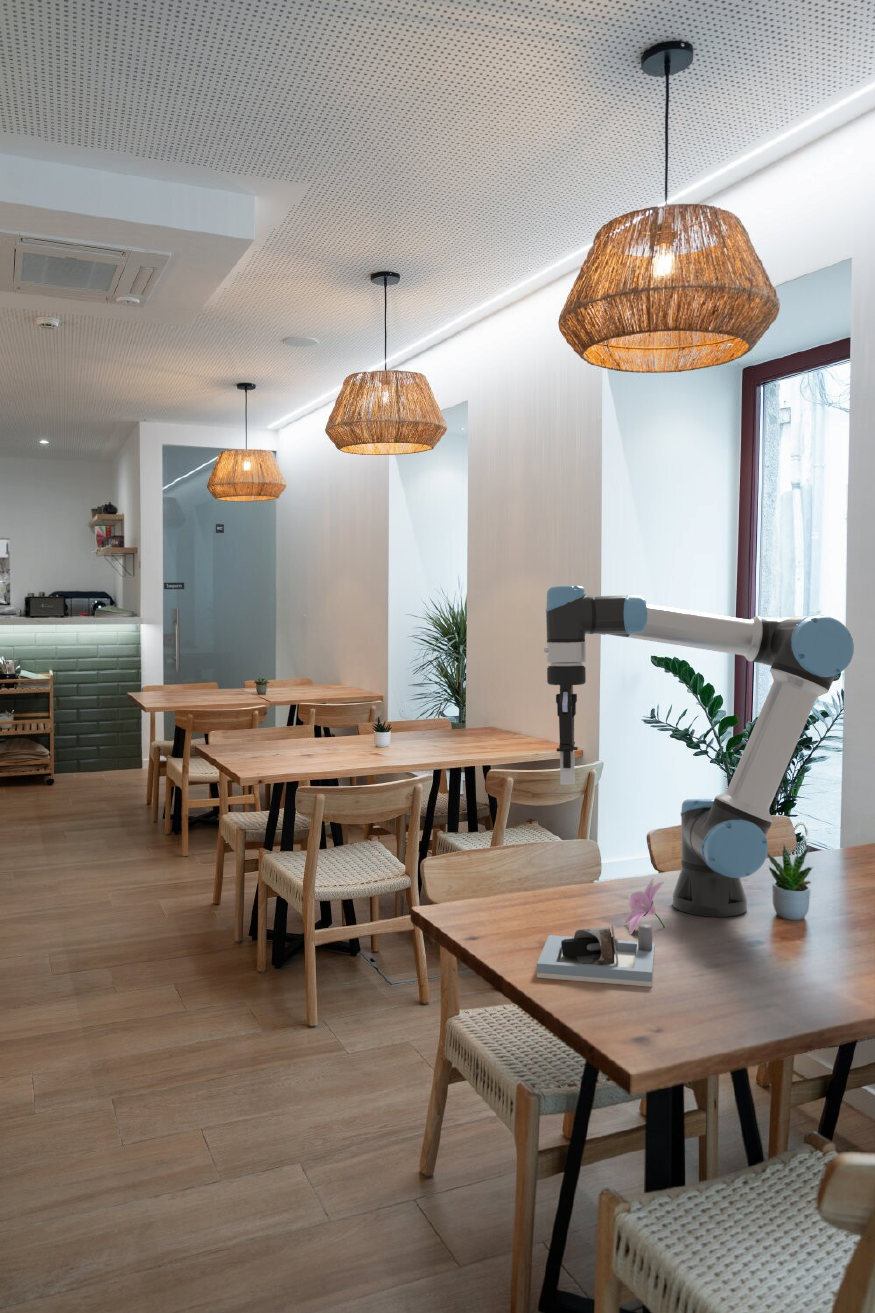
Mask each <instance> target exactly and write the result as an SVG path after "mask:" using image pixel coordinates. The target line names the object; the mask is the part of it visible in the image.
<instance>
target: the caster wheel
mask: <svg viewBox="0 0 875 1313" xmlns="http://www.w3.org/2000/svg"><path fill="white" fill-rule="evenodd" d="M573 937H574V938H571V939H566V940H562V941H561V946H562V953H563V956H576V957H577V959H578V961H579V963H580V964H590V965H610V964H614V954H615V956H616V963H617V967H618V955H617V950H619V945H618V940H619V939H617V938H616V936H615V928H614V923H612V924H611V929H610V926H603V927H594V928H584V929H581V928H580V929H577V930H576V931H575V933H574V936H573Z"/></svg>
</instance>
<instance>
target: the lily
mask: <svg viewBox="0 0 875 1313" xmlns="http://www.w3.org/2000/svg"><path fill="white" fill-rule="evenodd" d="M654 880H655V878H652V879H651V880H650V882H649V883H648V885H647V886H646V888H645V890H644V891H635V892H632V893H630V895H629V896H628V904H629V907H630V909H631V912H630V913H629V914H628V916H627V917H626V919H625V920H624V923H623V926H625V925H627V924H629V929H628V933H629V935H630V936H631V935H632V934H633V932H634V930H635V928H636V926H637V925H638V923H639V922H640V920H641V919H642V918H643V917H652V916H655V917H656V918H657V919H658V921H659V922H660V924H661V925H662V927H663V928H666V927H665V924H664V923H663V921H662V920H661V918H660V917H659V915H658V913H656V909H655V904H654V898H655V897H656V895H657V894H658V892H659V891H660V890H661V888H662V887H663V885H664V884H665V881H660V882H658V883H656V884H654Z"/></svg>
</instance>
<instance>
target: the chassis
mask: <svg viewBox="0 0 875 1313" xmlns="http://www.w3.org/2000/svg"><path fill="white" fill-rule="evenodd" d="M637 928H638V929H637V930H638V932H637V933H638V935H637V936H638V939H637V941H635V940H634V941H633V940H624V939H623V940H622V939H621V940H619V939H617V940H618V945H619V950H617V955H618V967H617V963H616V956H615V954H614V964H610V965H590V964H580V963H579V961H578V959H577V957H576V956H563V953H562V946H561V941H562V940H566V939H571V938H574V936H565V935H563V936H562V935H550V934H549V935H548V937H547V939H546V942H545V944H544V946H543V948H542V950H541V952H540V955H539V957H538V959H537V962H536V978H539V979H540V978H541V979H551V980H563V981H565V980H566V981H575V982H577V981H578V982H589V983H599V984H600V983H601V984H613V985H624V986H637V987H650V988H652V987H653V983H654V982H653V980H654V966H655V952H656V951H655V942H653V926H652V925H651V924H639V925H638V926H637Z"/></svg>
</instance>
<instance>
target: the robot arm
mask: <svg viewBox="0 0 875 1313" xmlns="http://www.w3.org/2000/svg"><path fill="white" fill-rule="evenodd" d="M585 591H586V590H585V588H584V586H581V585H560V586H559V585H558V586H557V585H556V586H552V587H550V588H549V589H548V590H547V591H546V592H547V593H546V609H545V613H546V614H545V615H546V645H547V647H544V648H543V652H544V653H546V654H547V653H548V654H547V655H546V660H547V661H546V662H547V663H548V664H550V665H547V668H546V678H547V679H546V682H547V685H550V686H559V693H556V694H555V703H556V705H557V708H556V709H557V712H556V713H557V716H558V724H559V726H558V728H559V730H558V731H559V734H558V735H559V745H558V747H557V748H556V752H559V771H560V772H559V773H560V774H559V775H560V777H559V779H560V782H559V784H560V785H561V786H562V785H563V786H564V785H565V786H568V785H569V786H570V785H573V786H575V782H576V781H575V751H578V749H579V748H578V746H575V745H576V742H575V716H576V714H577V707H576V706H577V702H578V694H577V693H574V686H581V685H585V684H586V683H587V682H586V667H585V665H583V664H584V663H586V660H587V659H586V650H587V649H586V644H587V643H586V635H596V634H597V635H603V636H604V635H609V636H616V637H622V638H629V639H630V638H631V639H636V640H643V641H647V642H649V641H650V642H657V643H662V644H668V645H675V646H681V647H687V648H694V649H700V650H701V649H702V650H706V651H712V652H719V653H726V654H732V655H737V656H743V657H744V658H745V660H746V661H748V662H751V663H757V664H763V665H766V666H770V669H769V672H770V674H771V677H772V679H773V682H772V684H771V687H770V688H769V692H768V693H767V696H766V699H765V701H764V703H763V705H762V708H761V710H760V712H759V715H758V717H757V719H756V721H755V724H754V726H753V729H752V731H751V734H750V736H749V738H748V740H747V743H746V745H745V748H744V750H743V752H742V754H741V756H740V759H739V761H738V763H737V766H736V768H735V770H734V773H733V776H732V778H731V780H730V782H729V785H728V787H727V789H726V791H725V792H723V793H720V794H717V795H716V796H715V798H690V799H688V798H687V799H685V800H683V802H682V803H681V812H680V818H681V819H680V820H681V821H680V822H681V823H680V824H681V825H680V826H681V828H680V831H681V832H680V833H681V834H680V837H681V838H680V840H681V843H680V845H681V847H680V848H681V850H680V851H681V853H680V856H681V857H680V858H681V864H680V865H681V866H680V869H681V870H680V873H679V874H678V875H679V876H678V878H677V881H676V883H675V884H676V885H675V887H674V890H673V894H672V906H673V908H675V909H676V910H678V911H680V912H684V913H686V914H691V915H696V916H703V917H717V918H718V917H721V918H723V917H735V916H738V915H743V914H744V913H746V912H747V909H748V901H747V896H746V893H745V888H744V886H743V883H742V879H741V878H745V877H749V876H751V875H753V874H755V873H756V872H758V871H759V870H760V869H761V868H762V867H763V865H764V864H765V861H766V860H767V858H768V854H769V843H768V839H767V835H768V834H769V832H770V828H771V826H772V824H773V821H774V820H773V818H772V815H771V813H770V808H771V805H772V802H773V800H774V798H775V796H776V793H777V792H778V790H779V787H780V785H781V782H782V780H783V777H784V775H785V772H786V770H787V768H788V765H789V763H790V760H791V759H792V756H793V754H794V751H795V749H796V746H797V745H798V742H799V740H800V737H801V735H802V732H803V730H804V728H805V726H806V723H807V721H808V719H809V717H810V714H811V712H812V709H813V707H814V705H815V702H816V700H817V698H819V697H820V696H823V695H825V694H828V692H829V690H830V689H831V686H832V684H833V682H834V680H835V677H836V676H837V675H839V674H841V673H842V672H844V671H845V669H847V668H848V666H849V665H850V663H851V662H852V659H853V656H854V652H855V645H854V639H853V637H852V634H851V633H850V630H849V629H848V628H847V626H846V625H845V624H843V623H842V622H841V621H840V620H838V619H836V618H835V617H831V616H827V615H823V614H812V615H811V614H810V615H806V616H805V615H804V616H789V617H765V616H760V615H759V616H757V615H756V616H754V617H752V618H751V619H746V618H741V617H740V618H739V617H733V616H726V615H720V614H719V615H718V614H714V613H707V612H699V611H694V610H687V609H680V608H674V607H667V606H660V605H653V604H647V601H646V599H645V597H643V596H641V595H631V594H626V595H625V594H624V595H598V596H597V595H596V596H593V595H587V594H586V592H585Z"/></svg>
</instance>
